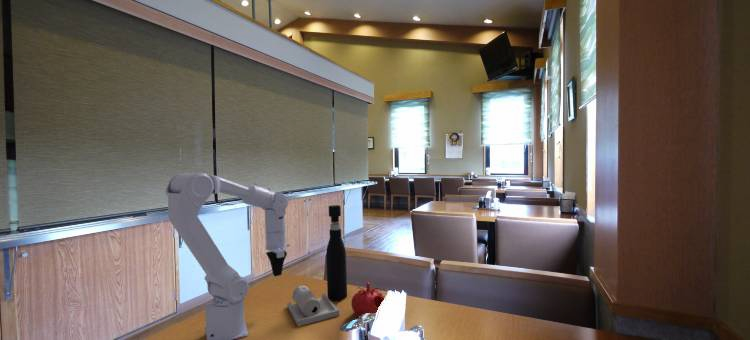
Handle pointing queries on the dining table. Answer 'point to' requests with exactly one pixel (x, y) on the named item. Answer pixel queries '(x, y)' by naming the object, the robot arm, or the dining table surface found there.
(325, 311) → the tray
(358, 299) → the pomegranate
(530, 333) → the dining table surface
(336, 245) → the black bottle
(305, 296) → the energy drink
